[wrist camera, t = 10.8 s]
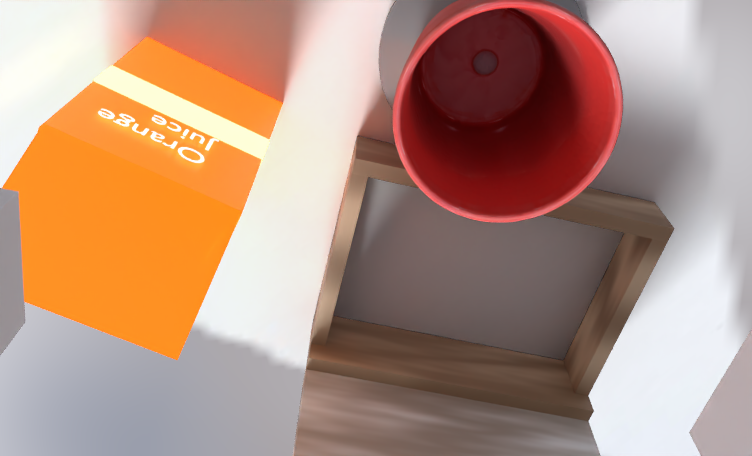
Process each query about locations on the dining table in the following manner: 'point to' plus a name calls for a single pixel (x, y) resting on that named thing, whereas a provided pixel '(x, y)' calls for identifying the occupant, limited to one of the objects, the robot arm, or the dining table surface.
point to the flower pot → (506, 108)
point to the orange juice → (139, 194)
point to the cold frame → (464, 352)
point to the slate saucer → (415, 35)
